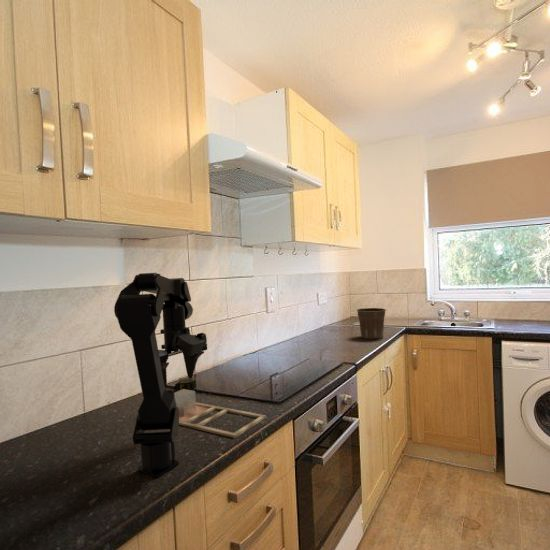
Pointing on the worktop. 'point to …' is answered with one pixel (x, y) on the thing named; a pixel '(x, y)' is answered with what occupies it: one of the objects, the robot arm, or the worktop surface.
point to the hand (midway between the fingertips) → (177, 382)
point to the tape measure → (185, 384)
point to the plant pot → (371, 322)
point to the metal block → (185, 401)
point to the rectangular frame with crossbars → (205, 409)
